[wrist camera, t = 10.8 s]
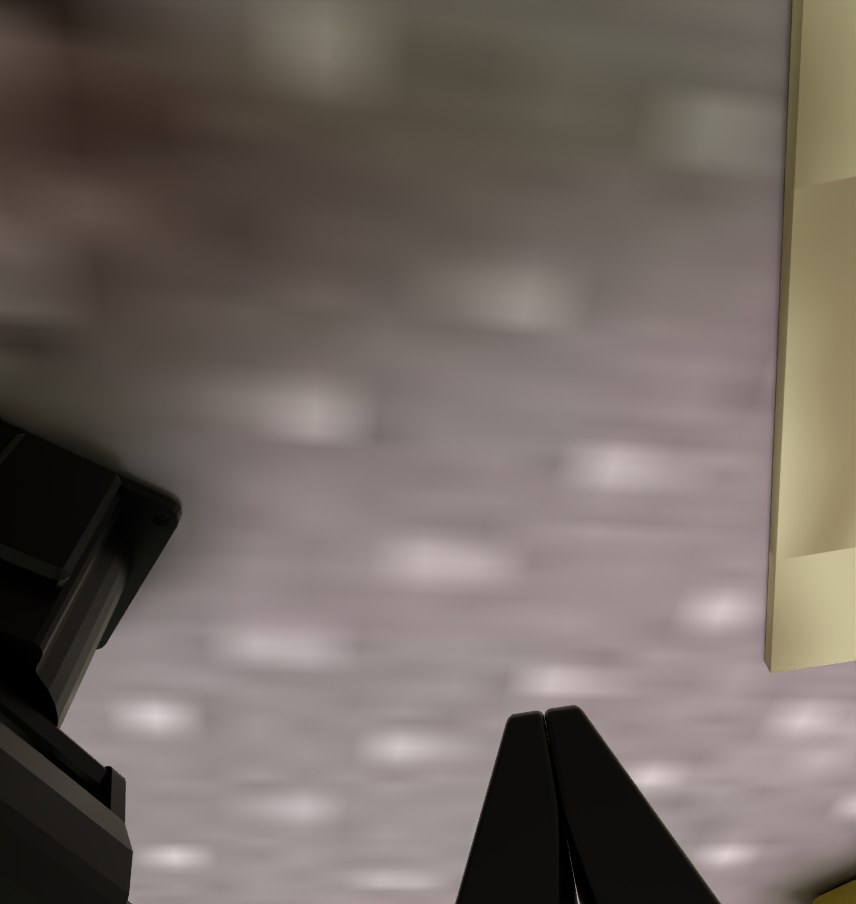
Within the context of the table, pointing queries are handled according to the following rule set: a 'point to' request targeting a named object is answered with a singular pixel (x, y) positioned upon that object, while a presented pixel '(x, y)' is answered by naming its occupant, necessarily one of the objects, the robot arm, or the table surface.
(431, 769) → the table surface
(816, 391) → the board
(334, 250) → the table surface
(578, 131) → the table surface
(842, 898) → the flower pot
